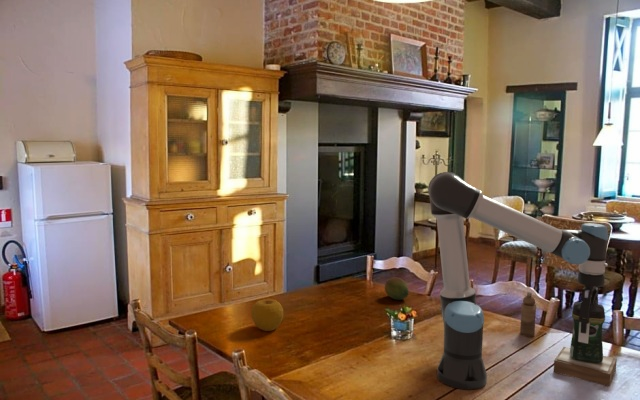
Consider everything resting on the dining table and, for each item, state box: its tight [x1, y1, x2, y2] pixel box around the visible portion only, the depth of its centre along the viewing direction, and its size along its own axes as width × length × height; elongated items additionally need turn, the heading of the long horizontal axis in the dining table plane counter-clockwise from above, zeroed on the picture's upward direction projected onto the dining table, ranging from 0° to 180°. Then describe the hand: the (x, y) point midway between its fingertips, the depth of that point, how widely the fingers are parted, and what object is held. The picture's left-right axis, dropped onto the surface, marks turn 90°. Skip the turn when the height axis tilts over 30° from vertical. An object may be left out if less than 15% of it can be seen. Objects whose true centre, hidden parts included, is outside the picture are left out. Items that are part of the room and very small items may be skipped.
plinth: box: [553, 346, 617, 387], centre depth 165 cm, size 14×16×4 cm
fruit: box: [384, 276, 409, 301], centre depth 241 cm, size 12×13×10 cm
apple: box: [250, 298, 284, 332], centre depth 201 cm, size 13×13×11 cm
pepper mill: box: [519, 291, 537, 338], centre depth 197 cm, size 5×5×17 cm
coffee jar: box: [569, 301, 606, 363], centre depth 164 cm, size 10×8×19 cm
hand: (587, 335), depth 164 cm, fingers open, 13 cm apart
